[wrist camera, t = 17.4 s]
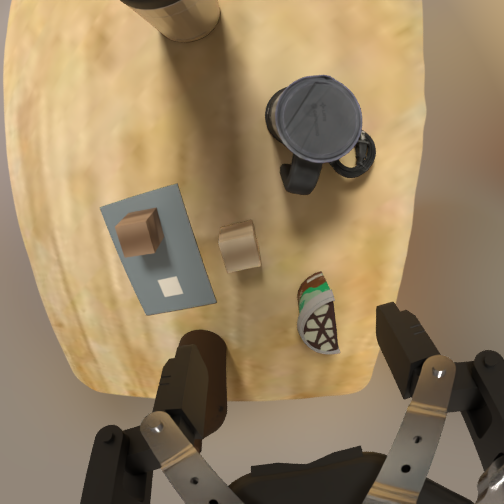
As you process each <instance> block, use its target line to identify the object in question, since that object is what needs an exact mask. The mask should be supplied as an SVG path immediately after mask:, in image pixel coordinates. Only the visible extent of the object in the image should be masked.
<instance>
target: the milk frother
mask: <svg viewBox="0 0 504 504" xmlns="http://www.w3.org/2000/svg"><path fill="white" fill-rule="evenodd" d="M265 120H266V124H267V127H268V130H269V131H270V133H271V134H272V136H273V137H274V138H275V139H276V140H278V141H279V142H281V143H283V145H284V146H286V147H287V148H288V149H289V150H290V151H291V152H293V157H292V163H291V164H282V165H281V167H280V175H281V178H282V181H283V184H284V187H285V190H286V191H288V192H290V193H294V194H300V195H308V194H310V193H311V192H312V191H313V190H314V188H315V186H316V184H317V181H318V178H319V175H320V171H321V168H322V164H323V163H327V162H329V163H330V165H331V166H332V167H333V169H334V170H335V171H336V172H337V173H338V174H340V175H341V176H344V177H347V178H355V177H358V176H360V175H362V174H363V173H365V172H366V171H368V169H369V168H370V167H371V165H372V164H373V162H374V159H375V156H376V148H375V144H374V142H373V140H372V138H371V137H370V136H369V135H368V134H367V133H366V132H364V131H363V130H362V112H361V108H360V105H359V103H358V101H357V99H356V98H355V96H354V94H353V93H352V92H351V91H350V90H349V89H348V88H347V87H346V86H344V85H343V84H342V83H340V82H338V81H337V80H335V79H334V78H332V77H330V76H327V75H317V76H307V77H303V78H300V79H298V80H296V81H294V82H293V83H292V84H290V85H289V86H288V87H286V88H283V89H281V90H279V91H278V92H277V93H275V94H274V95H273V96H272V97H271V99H270V100H269V102H268V104H267V107H266V112H265ZM359 137H360V140H358V139H359ZM354 146H356V155H357V156H356V158H357V163H356V164H357V166H356V167H353V168H348V167H346V166H344V165H343V164H342V163H341V162H340V161H339V159H340V158H341V157H343V156H345V155H346V154H347V153H349V152H350V151H351V150H352V149H353V147H354ZM367 147H368V153H367V158H366V155H365V154H366V150H367ZM364 159H365V160H364Z"/></svg>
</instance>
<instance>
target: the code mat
mask: <svg viewBox="0 0 504 504" xmlns="http://www.w3.org/2000/svg"><path fill="white" fill-rule="evenodd" d="M156 207H157V211H158V215H159V219H160V222H161V226H162V230H163V234H164V238H163V240H162V241H161V243H160V245H159V247H158V248H157V250H156V252H155V253H153V254H146V255H139V256H133V257H126V258H125V257H124V254H123V251H122V248H121V245H120V242H119V239H118V236H117V233H116V229H115V226H116V225H117V224H118V223H119V222H120V221H121V220H122V219H123V218H124V217H125V216H126V215H127V214H128V213H131V212H136V211H141V210H146V209H151V208H156ZM100 210H101V212H102V215H103V218H104V220H105V223H106V225H107V228H108V230H109V233H110V235H111V238H112V240H113V243H114V245H115V248H116V250H117V252H118V255H119V257H120V259H121V262H122V264H123V266H124V269H125V271H126V273H127V275H128V278H129V280H130V282H131V284H132V286H133V288H134V291H135V293H136V295H137V297H138V299H139V301H140V303H141V305H142V307H143V309H144V311H145V313H146V315H152V314H158V313H164V312H169V311H175V310H180V309H186V308H191V307H197V306H202V305H207V304H212V303H217V301H216V299H215V296H214V293H213V290H212V287H211V285H210V282H209V279H208V276H207V273H206V270H205V267H204V264H203V261H202V258H201V255H200V252H199V249H198V246H197V243H196V240H195V237H194V234H193V231H192V228H191V225H190V222H189V219H188V216H187V213H186V210H185V206H184V203H183V200H182V197H181V194H180V190H179V187H178V184H174V185H170V186H167V187H163V188H160V189H156V190H153V191H150V192H146V193H143V194H140V195H137V196H133V197H130V198H127V199H124V200H121V201H118V202H115V203H112V204H109V205H106V206H103V207H100Z"/></svg>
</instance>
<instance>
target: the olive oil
mask: <svg viewBox="0 0 504 504" xmlns="http://www.w3.org/2000/svg"><path fill="white" fill-rule="evenodd" d="M191 344H195V345H196V346H197V348H198V350H199V353H200V355H201V357H202V359H203V361H204V363H205V365H206V367H207V371H208V390H207V400H206V411H205V422H204V433H203V439H204V438H205V437H207V436H208V435H210V434H211V433H213V432H215V431H216V430H218V428H219V427H220V426H221V425H222V424H223V422H224V420H225V417H226V414H227V387H226V345H225V342H224V341H223V339H222V338H221V337H220V336H218V335H217V334H215V333H213V332H210V331H206V330H194V331H191V332H188V333H187V334H185V335H184V336H183V337H182V338H181V340H180V343H179V346H184V345H191ZM194 448H195V449H196V450H197V451H198V452H199V454H200V452H201V449H202V439H195V440H194Z"/></svg>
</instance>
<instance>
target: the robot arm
mask: <svg viewBox="0 0 504 504" xmlns="http://www.w3.org/2000/svg"><path fill="white" fill-rule="evenodd" d="M120 1H122V2H123V3H124V4H126V5H127V6H129V7H130V8H131V9H133V10H134V11H135V12H136V13H138V14H139V15H140V16H141V17H143V18H144V19H145V20H146V21H148V22H149V23H150V24H151V25H153V26H154V27H155V28H156V29H157V30H158V31H160V32H161V33H162V34H163V35H164V36H166V37H167V38H169V39H171V40H173V41H177V42H191V41H196V40H198V39H201V38H203V37H204V36H206V35H207V34H209V33H210V32H211V31H212V30H213V29H214V27H215V26H216V24H217V22H218V20H219V16H220V8H219V4H218V0H120ZM376 337H377V341H378V344H379V347H380V349H381V351H382V353H383V355H384V357H385V359H386V361H387V363H388V366H389V368H390V370H391V372H392V374H393V377H394V379H395V381H396V383H397V385H398V388H399V390H400V392H401V394H402V397H403V399H407V398H410V397H412V400H411V403H410V405H409V406H408V408H407V411H406V413H405V416H404V418H403V421H402V424H401V426H400V429H399V431H398V433H397V436H396V438H395V440H394V442H393V445H392V447H391V449H390V452H389V454H388V456H387V455H385V454H381V453H376V452H362V449H361V446H357V447H353V448H350V449H345V450H341V451H338V452H334V453H331V454H329V455H327V456H325V457H323V458H320V459H318V460H316V461H313V462H311V463H309V464H289V463H273V464H265V465H257V466H251V473H249V474H246V475H244V476H242V477H240V478H239V479H237V480H235V481H234V482H232V483H231V484H230V485H229V486H227V484H226V483H225V482H224V481H223V480H222V479H221V478H220V477H219V476H218V475H217V473H216V472H215V471H214V470H213V469H212V468H211V467H210V466H209V464H208V463H207V462H206V461H205V460H204V458H203V457H202V456H201V455H200V454H199V452H198V451H197V450H196V449H195V448H194V440H195V439H203V433H204V422H205V411H206V400H207V390H208V371H207V367H206V365H205V363H204V361H203V359H202V357H201V355H200V353H199V350H198V348H197V346H196V345H195V344H191V345H184V346H178V348H177V351H176V355H175V358H172V359H169V360H168V361H167V363H166V364H165V366H164V367H163V370H162V374H161V378H160V382H159V386H158V391H157V395H156V399H155V404H154V408H153V412H152V413H150V414H148V415H147V416H146V417H145V418H144V419H143V420H142V422H141V424H140V426H137V427H134V428H130V429H127V430H124V431H122V430H121V429H120V428H119V427H118V426H115V425H108V426H105V427H103V428H102V429H100V430H99V432H98V433H97V435H96V437H95V440H94V444H93V448H92V453H91V457H90V461H89V465H88V469H87V474H86V479H85V483H84V488H83V493H82V497H81V502H80V504H150V499H151V488H152V477H153V470H156V469H159V468H161V469H162V471H163V473H164V474H165V476H166V477H167V479H168V480H169V482H170V483H171V484H172V486H173V487H174V489H175V490H176V491H177V493H178V494H179V495H180V497H181V498H182V500H183V501H184V502H185V504H474V503H473V502H472V501H471V500H469V499H467V498H465V497H463V496H461V495H459V494H457V493H455V492H453V491H451V490H449V489H447V488H445V487H444V486H442V485H440V484H438V483H436V482H434V481H432V480H430V479H429V478H427V477H426V476H427V474H428V471H429V469H430V466H431V463H432V460H433V458H434V454H435V451H436V449H437V446H438V443H439V440H440V437H441V433H442V430H443V427H444V423H445V420H446V416H447V413H448V412H457V411H461V414H462V416H463V418H464V421H465V423H466V425H467V428H468V430H469V432H470V435H471V437H472V440H473V442H474V445H475V447H476V450H477V452H478V455H479V458H480V460H481V463H482V466H483V469H484V473H483V474H482V475H481V476H480V478H479V481H478V485H477V488H478V498H477V501H476V503H475V504H504V359H503V358H502V356H501V355H500V354H498V353H497V352H495V351H491V350H485V351H482V352H480V353H479V354H478V355H477V356H476V357H475V360H474V361H470V362H459V363H457V362H453V360H452V359H450V358H449V357H447V356H444V355H441V354H440V353H439V351H438V350H437V348H436V347H435V345H434V343H433V342H432V340H431V339H430V337H429V336H428V334H427V333H426V332H425V330H424V328H423V327H422V325H421V324H420V322H419V321H418V319H417V318H416V316H415V315H413V314H412V313H410V312H409V311H407V310H404V311H401V312H400V311H399V309H398V308H397V306H396V304H395V303H394V302H390V303H386V304H383V305H379V306H377V308H376Z"/></svg>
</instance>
